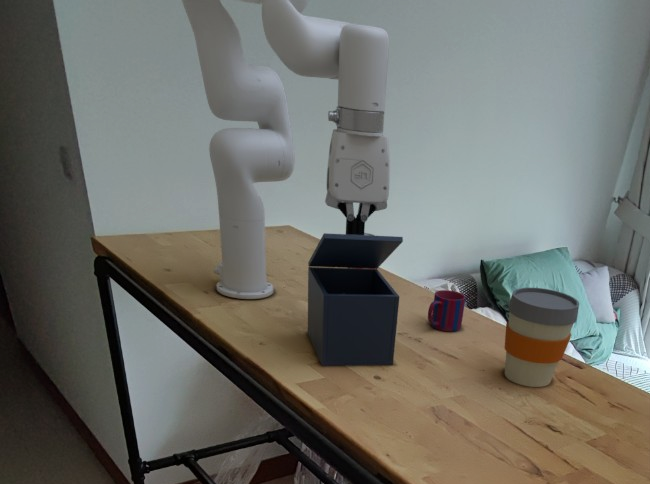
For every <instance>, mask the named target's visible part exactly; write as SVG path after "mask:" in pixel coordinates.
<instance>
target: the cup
mask: <svg viewBox="0 0 650 484" xmlns="http://www.w3.org/2000/svg"><path fill="white" fill-rule="evenodd" d="M466 299H467V298H466V295H465V294H464V293H462V292H459V291H455V290H448V289H442V290H436V291H435V292H434V298H433V301H432V302H431V303H430V305H429V307H428V311H427V321H428V322H429V323H430V325H431V327H432V328H434V329H435V330H438V331H442V332H450V333H452V332H458V331H460V330H461V329H462V322H463V317H464V312H465V304H466Z"/></svg>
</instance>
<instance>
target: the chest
mask: <svg viewBox="0 0 650 484" xmlns="http://www.w3.org/2000/svg"><path fill="white" fill-rule="evenodd" d="M307 268H308V270H307V335H308V337H309V339H310V341H311V344H312V346H313V348H314V351H315V353H316V355H317V357H318V360H319V362H320V364H321V366H322V367H330V366H331V367H335V366H393V365H394V358H395V347H396V337H397V325H398V316H399V306H400V305H399V304H400V295H399V294H398V293H397V291H396V290H395V289H394V288H393V286H392V285H391V284H390V283H389V282H388V280H387V279H386V278H385V277H384V276H383V274H382V273H381V272H380V270H379V269H378V268H377V269H358V268H342V267H309V266H307ZM344 292H345V294H344Z"/></svg>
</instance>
